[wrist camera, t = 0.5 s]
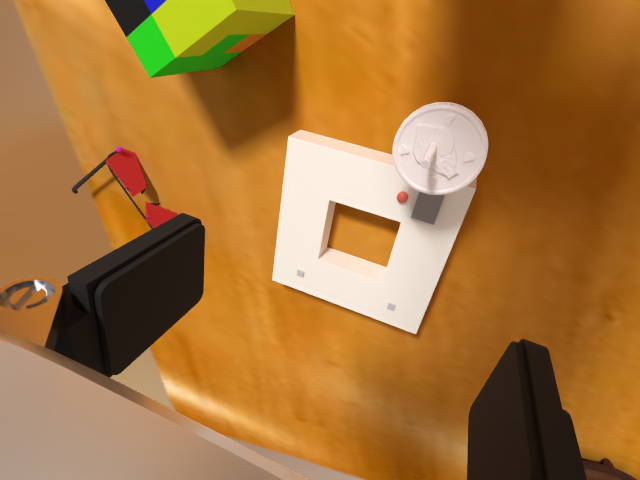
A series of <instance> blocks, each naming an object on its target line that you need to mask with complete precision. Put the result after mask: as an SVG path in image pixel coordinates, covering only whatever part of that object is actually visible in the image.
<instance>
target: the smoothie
mask: <svg viewBox="0 0 640 480" xmlns="http://www.w3.org/2000/svg"><path fill="white" fill-rule="evenodd" d="M488 145H489V144H488V137H487V132H486V130H485V128H484V125H483V123H482V121H481V120H480V119H479V118H478V117H477V116H476V115H475V114H474V112H472V111H471V110H469V109H467V108H466V107H464V106H462V105H459V104H456V103H451V102H435V103H432V104H428V105H425V106H423V107H421V108H419V109H417V110H416V111H414V112H412V113H411V114H410V115H409V116H408V117H407V118H406V119H405V120H404V121H403V123H402V125H401V126H400V128H399V130H398V131H397V134H396V136H395V139H394V143H393V149H392V155H393V162H394V165H395V168H396V170H397V172H398V174H399V175H400V177H401V178H402V179H403V181H404V182H405V183H406V184H408V185H409V186H410V187H412V188H413V189H415V190H417V191H419V192H422V193H425V194H430V195H445V194H450V193H454V192H456V191H459V190H461V189H463V188H464V187H466V186H467V185H469V184H470V183H471V182H472V181H473V180H474V179H475V178H476V177H477V176H478V174H479V173H480V171H481V170H482V168H483V166H484V163H485V161H486V158H487V152H488Z"/></svg>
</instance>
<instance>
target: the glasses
mask: <svg viewBox="0 0 640 480" xmlns="http://www.w3.org/2000/svg"><path fill="white" fill-rule="evenodd" d="M106 163H107V165H108V167H109V169H110V171H111V173H112V174H113V176H114V177H115V179H116V180H117V182H118V183H119V184H120V186H121V187H122V188H123V190H124V191H125V193H126V194H127V195H128V197H129V198H130V200H131V201H132V202H133V204H134V205H135V206H136V208H137V209H138V211H139V212H140V213H141V215H142V216H143V217H144V219H145V220H146V222H147V223H148V224H149V226H150V227H151V229H154V228H155V227H157V226H159V225H161V224H163V223H164V222H166V221H168V220H170V219H172V218H173V217H175V216H177V215H178V214H177V213H175V212H172V211H169V210H167V209H164V208H161V207H159V206H156V205H159V204H160V203H158V204H156V203H148V202H145V209H146V217H145V216H144V214H143V213H142V212H141V210H140V209H139V208H138V206H137V205H136V203H135V202H134V201H133V199H132V198H131V196H130V195H129V194H128V192H127V191H126V188H127V190H128V191H129V192H130V194H131V195H132V196H135V195H136V194H138V193H139V192H141V194H143V192H144V191H145V189H146V188H147V185H146V182H145V179H144V176H143V173H142V171H141V168H140V165H139V162H138V159H137V156H136V154H135V153H134V152H131V151H128V150H125V149H122V148H121V147H117V148H116V151H115V152H113V153H111V154H109V155H108V157H107V158H106V159H105V160H104V161H103V162H102V163H100V164H99V165H98V166H97V167H96V168H95V169H93V170H92V171H91V172H90V173H89V174H88V175H86V176H85V177H84V178H83V179H82V180H81V181H79V182H78V183H77V184H76V185H75V186H74V187H73V188H72V191H73V192H74V193H75V194H76V193H78V191H77V189H78V188H79V187H80V186H81V185H82V184H83V183H85V182H86V181H87V180H88V179H89V178H90V177H91V176H93V175H94V174H95V173H96V172H97V171H98V170H99V169H100V168H102V167H103V166H104V165H105V164H106ZM112 170H113V171H112ZM113 172H114V173H115V174H116V175H117V177H118V178H119V179H120V181H121V182H122V183H123V184H124V186H125V187H123V185H122V184H121V183H120V181H119V180H118V178H117V177H116V176H115V174H114V173H113ZM151 225H152V226H153V227H154V228H153V227H152V226H151Z"/></svg>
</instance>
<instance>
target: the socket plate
mask: <svg viewBox="0 0 640 480" xmlns="http://www.w3.org/2000/svg"><path fill="white" fill-rule="evenodd" d="M476 182H477V178H475V179H474V180H473V181H472V182H471V183H470V184H469V185H467V186H466V187H464V188H463V189H461V190H459V191H456V192H454V193H450V194H445V195H430V194H425V193H422V192H419V191H417V190H415V189H413V188H412V187H410V186H409V185H408V184H406V183H405V182H404V181H403V179H402V178H401V177H400V175H399V174H398V172H397V170H396V168H395V165H394V162H393V155H391V154H388V153H384V152H380V151H377V150H373V149H369V148H366V147H362V146H358V145H355V144H351V143H347V142H344V141H340V140H336V139H333V138H329V137H325V136H322V135H318V134H314V133H311V132H307V131H303V130H299V131H297V132H295V133H294V134H292V135H290V136H288V144H287V153H286V162H285V170H284V179H283V188H282V197H281V206H280V215H279V224H278V233H277V242H276V250H275V259H274V268H273V277H272V280H273V281H276V282H279V283H281V284H284V285H287V286H289V287H292V288H295V289H297V290H300V291H303V292H305V293H308V294H310V295H313V296H316V297H318V298H321V299H324V300H326V301H329V302H332V303H334V304H337V305H340V306H342V307H345V308H347V309H350V310H353V311H355V312H358V313H361V314H363V315H366V316H369V317H371V318H374V319H376V320H379V321H382V322H384V323H387V324H390V325H392V326H395V327H398V328H400V329H403V330H406V331H408V332H411V333H413V334H416V333H417V330H418V328H419V326H420V323H421V321H422V318H423V316H424V313H425V311H426V309H427V306H428V304H429V301H430V299H431V297H432V294H433V292H434V289H435V287H436V285H437V282H438V280H439V277H440V275H441V272H442V270H443V268H444V265H445V263H446V260H447V258H448V256H449V253H450V251H451V248H452V246H453V244H454V241H455V239H456V236H457V234H458V231H459V229H460V227H461V224H462V222H463V219H464V217H465V215H466V212H467V210H468V207H469V205H470V203H471V200H472V198H473V195H474V193H475V191H476ZM336 202H337V203H341V204H344V205H347V206H350V207H353V208H357V209H360V210H363V211H366V212H369V213H372V214H376V215H379V216H382V217H385V218H388V219H392V220H395V221H398V222H401V224H400V227H399V230H398V234H397V237H396V240H395V243H394V246H393V249H392V253H391V256H390V259H389V262H388V265H387V267H384V266H381V265H378V264H375V263H372V262H370V261H367V260H364V259H361V258H358V257H355V256H352V255H349V254H346V253H343V252H340V251H338V250H335V249H332V248H329V247H327V245H328V240H329V235H330V230H331V225H332V220H333V215H334V210H335V205H336Z"/></svg>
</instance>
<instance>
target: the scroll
mask: <svg viewBox="0 0 640 480" xmlns="http://www.w3.org/2000/svg"><path fill="white" fill-rule="evenodd" d="M582 462H583V466H584V470H585V474H586V478H587V480H637V479H635V478H633V477H632V476H630V475H628V474H626V473H624V472H622V471H620V470H617V469H615V468H614V466H613V464H612V463H611V462H610V460H609V459H606V458H605V459H604V460H603V463H602V464H599V463H595V462H590V461H584V460H582Z"/></svg>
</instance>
